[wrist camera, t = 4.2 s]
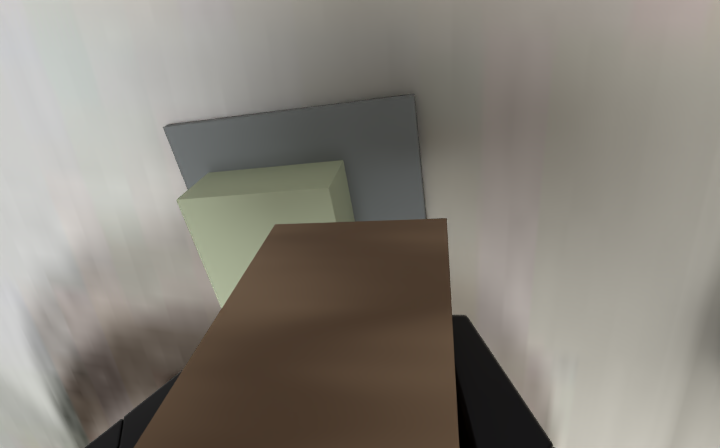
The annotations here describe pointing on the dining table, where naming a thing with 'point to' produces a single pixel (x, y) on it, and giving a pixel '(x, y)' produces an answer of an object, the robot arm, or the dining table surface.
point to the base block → (258, 212)
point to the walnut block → (325, 346)
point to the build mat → (318, 149)
